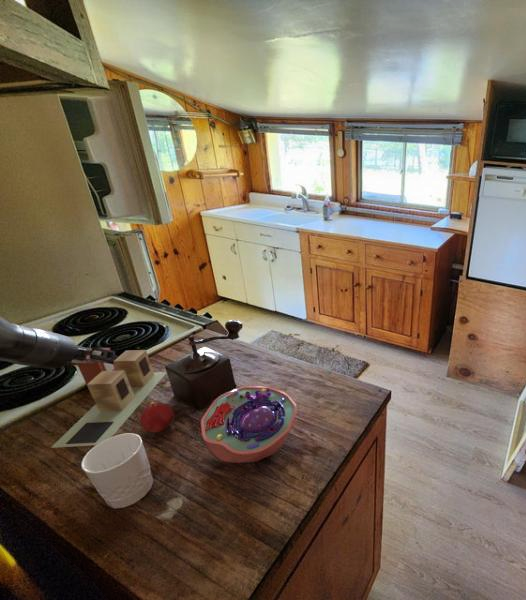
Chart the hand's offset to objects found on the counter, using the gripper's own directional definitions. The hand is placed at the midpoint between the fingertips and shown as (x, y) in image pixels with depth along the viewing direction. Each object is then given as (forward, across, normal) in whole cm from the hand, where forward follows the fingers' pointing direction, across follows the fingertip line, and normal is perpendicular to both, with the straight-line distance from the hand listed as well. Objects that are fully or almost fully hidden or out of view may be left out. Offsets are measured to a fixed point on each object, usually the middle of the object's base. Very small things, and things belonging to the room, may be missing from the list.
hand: (97, 360), depth 83 cm
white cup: (-19, -26, +28) cm, 43 cm away
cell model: (-13, -45, +21) cm, 51 cm away
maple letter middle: (-4, -10, +11) cm, 16 cm away
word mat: (-4, -10, +12) cm, 16 cm away
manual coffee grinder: (0, -30, +8) cm, 31 cm away
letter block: (+4, 0, +4) cm, 6 cm away
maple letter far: (+2, -10, +5) cm, 11 cm away
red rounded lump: (-10, -24, +18) cm, 31 cm away
